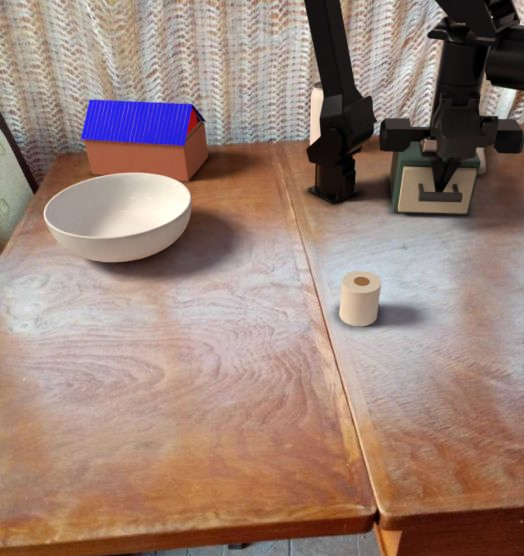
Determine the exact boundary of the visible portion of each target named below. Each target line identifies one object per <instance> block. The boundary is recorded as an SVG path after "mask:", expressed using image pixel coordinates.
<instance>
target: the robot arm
mask: <svg viewBox="0 0 524 556" xmlns="http://www.w3.org/2000/svg"><path fill="white" fill-rule="evenodd" d="M434 2H435V3H436V4H437V5H438V7H440V9H441V10H442V11H443V12H444V13H445V15H446V16H443V17H442V18H441V20H440V22H438V24H437V25H436V26H435V27H433V29H431V30H430V31H428V32H427V34H426V37H427V38H428V39H431V40H436V41H442V46H441V51H440V52H441V53H440V59H439V65H438V70H437V77H436V83H435V89H434V95H433V100H432V108H431V113H430V117H429V118H430V119H429V125H428V126H412V125H411V121H410V117H407V118H406V117H385V118H383V119H382V121H381V122H380V125H379V132H378V133H379V134H378V140H379V143H378V144H379V150H380V151H381V152H384V153H393V152H404V151H405V150H406V149H407V148H409V147H410V142H419V143H418V144H419V148H420V153H421V156H422V157H425V158H429V160H430V164H431V169H432V175H433V182H434V189H435V192H443V191H444V189H445V188H446V186H447V184H448V183H449V181H450V179H451V178H452V176H453V174H454V173H455V171H456V170H457V169H458V167H459V166H460V165H461V164H462V163H463V162H464V161H465V160H467V159H470V158H475V156H476V155H477V154H476V150H477V148H484V149H487V148H488V147H493V149H494V150H495V151H496V153H497V154H505V155H507V154H508V155H509V154H511V155H512V154H513V155H514V154H515V155H519V154H521V153H522V152H523V148H524V130H523V128H522V127H521V124H519V122H518V121H517V119H516V118H499V116H498V115H483V114H480V113H481V112H480V103H481V98H482V97H481V96H482V95H481V92H482V89H483V83H484V78H485V81H489V82H490V86H492V87H496V88H502V89H508V90H512V91H513V90H514V91H520V92H524V24H521V19H520V16H519V14H518V11H517V8H516V6H515V3H514V1H513V0H434ZM303 3H304V8H305V13H306V18H307V22H308V27H309V32H310V37H311V41H312V47H313V51H314V57H315V62H316V67H317V71H318V75H319V82H320V81H321V86H322V90H323V103H322V108H321V113H320V117H319V123H320V135H321V136H320V137H319V138H318V139H317V140H316V141H315V142H314V143H312V144H311V145H310V144H309V146H308V147H306V149H305V150H306V151H305V152H306V154H307V159H308V162H309V163H311V164H315V166H314V167H315V168H314V185H313V186H311V187H308V188H307V192H308V193H309V194H312V195H314V196H315V197H318V198H320V199H321V200H323V201H326V202H327V203H329V204H335V203H338V202H341V201H344V200H346V199H349V198H350V197H353V196H355V195H358V194H360V192H361V191H360V189H359V188H357V187H356V179H357V178H356V176H357V170H356V159H355V158H354V156H355V155H356V154H359V153H361V152H362V150H363V148H364V145H366V144H368V143H369V142H370V140H371V139H372V137H373V135H375V134H374V132H375V124H376V123H378V120H377V118H376V116H375V112H374V100H373V97H372V95H371V94H369V95H367V96H363V95H362V93H361V92H360V90H359V89H358V87H357V86H356V83H355V77H354V72H353V66H352V60H351V54H350V49H349V43H348V38H347V32H346V26H345V21H344V16H343V10H342V5H341V0H303ZM443 158H445V160H444V164H443V168H442V161H443ZM441 170H442V172H441Z"/></svg>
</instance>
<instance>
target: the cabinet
mask: <svg viewBox="0 0 524 556" xmlns="http://www.w3.org/2000/svg"><path fill="white" fill-rule="evenodd" d="M418 143H419V142H410V147H409V148H407V149H406V150H405V151H404V152H392V154H391V155H392V156H391V163H390V164H391V165H390V173H389V183H390V184H389V185H390V193H391V194H390V195H391V203H392V204H391V206H392V213H393V214H411V215H412V214H414V215H440V216H441V215H443V216H469V215H470V210H471V207H472V206H471V205H472V202H473V197H474V193H475V189H476V185H477V180H478V176H479V174H478V172H479V168H480V164H481V161H480V159H479V156H478V154H477V151H476V154H477V155H476V156H475V158H470V159H467V160H465V161H464V162H463V163H462V164H461V165H460V166H459V167H468V168H476V171H477V172H476V176H475V180H474V185H473V189H472V193H471V197H470V202H469V206H468V210H467V213H433V212H399V211H398V203H399V196H400V189H401V182H402V175H403V168H404V167H405V166H431V164H430V160H429V158H425V157H422V156H421V153H420V148H419V144H418ZM444 160H445V158H443V161H442V166H443V164H444Z"/></svg>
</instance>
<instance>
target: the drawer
mask: <svg viewBox="0 0 524 556" xmlns="http://www.w3.org/2000/svg"><path fill="white" fill-rule="evenodd" d="M442 168H443V166H442ZM441 172H442V170H441ZM476 172H477V171H476V168H468V167H458V169H457V170H456V171H455V173H454V174H453V176H452V178H451V179H450V181H449V183H448V184H447V186H446V188H445V189H444V191H443V192H435V189H434V182H433V175H432V169H431V166H405V167H404V168H403V175H402V182H401V189H400V196H399V203H398V211H399V212H433V213H467V210H468V206H469V202H470V197H471V193H472V189H473V185H474V180H475V176H476Z"/></svg>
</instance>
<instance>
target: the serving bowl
mask: <svg viewBox="0 0 524 556" xmlns="http://www.w3.org/2000/svg"><path fill="white" fill-rule="evenodd" d="M192 203H193V198H192V194H191V191H190V190H189V188H188V187H187V186H186V185H185V184H183V182H181V181H177V180H175V179H172V178H169V177H166V176H162V175H157V174H150V173H119V174H111V175H100V176H97V177H92V178H89V179H84V180H82V181H80V182H77V183H73V184H71V185H70V186H68V187H66V188H64V189H62V190H61V191H60V192H58V193H57V194H55V195H54V196H53V197H51V198H50V200H49V201H48V202H47V203H46V205H45V206H44V210H43V219H44V223H45V224H46V226H47V228H48V230H49V231H50V233H51V235H52V236H53V237H54V239H55V240H56V241H57V242H58V243H59V244H60V245H61V246H62V247H63V248H65V249H66V250H67V251H69V252H71V253H72V254H74V255H76V256H79V257H81V258H84V259H87V260H90V261H94V262H103V263H122V262H124V263H125V262H131V261H136V260H141V259H145V258H148V257H151V256H153V255H156V254H158V253H159V252H161V251H163V250H165V249H167V248H168V247H170V246H171V245H173V244H174V243H175V242H176V241H177V240H179V238H180V237H181V236H182V234H183V233H184V232H185V230H186V228H187V226H188V225H189V221H190V219H191V214H192V205H193V204H192Z"/></svg>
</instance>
